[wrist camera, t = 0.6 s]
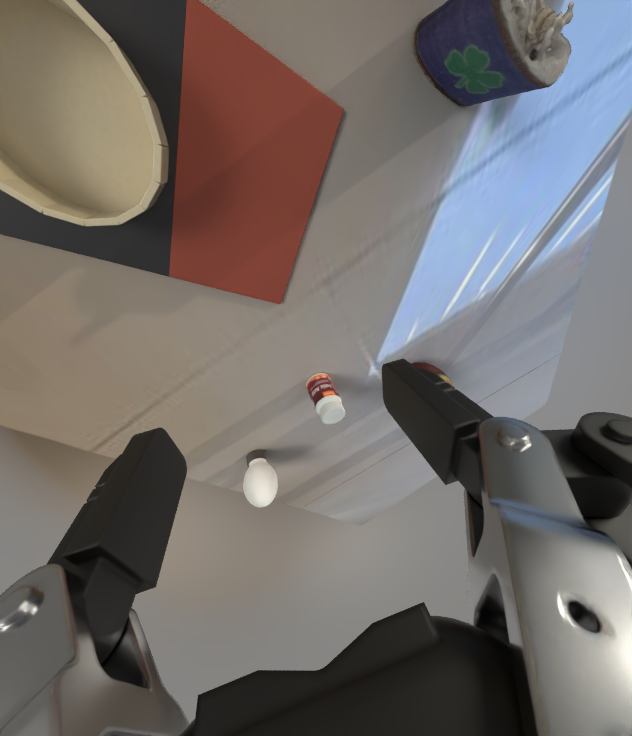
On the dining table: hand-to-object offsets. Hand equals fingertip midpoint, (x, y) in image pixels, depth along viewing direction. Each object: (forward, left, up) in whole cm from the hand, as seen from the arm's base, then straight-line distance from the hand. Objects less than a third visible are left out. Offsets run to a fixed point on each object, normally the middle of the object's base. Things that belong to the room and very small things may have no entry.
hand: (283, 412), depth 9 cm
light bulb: (+12, -40, -25) cm, 49 cm away
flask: (+15, +22, -25) cm, 37 cm away
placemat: (-6, +5, -25) cm, 26 cm away
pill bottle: (+18, -18, -25) cm, 36 cm away
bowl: (-13, +5, -25) cm, 28 cm away
